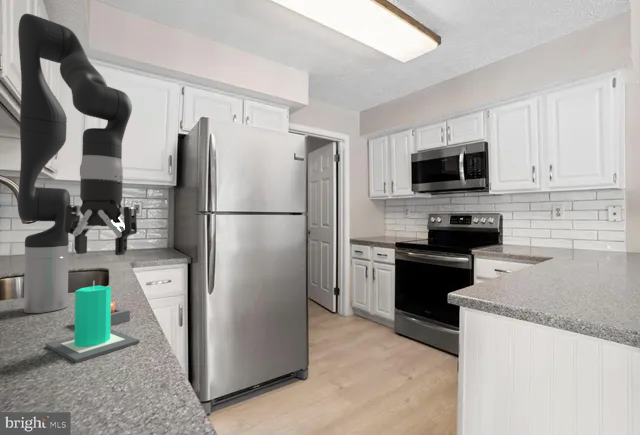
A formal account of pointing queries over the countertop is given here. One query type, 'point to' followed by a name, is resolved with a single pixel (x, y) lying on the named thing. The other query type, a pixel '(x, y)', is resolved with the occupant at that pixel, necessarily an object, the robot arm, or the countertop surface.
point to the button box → (120, 316)
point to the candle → (92, 315)
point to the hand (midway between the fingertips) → (100, 254)
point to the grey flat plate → (91, 347)
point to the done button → (112, 307)
